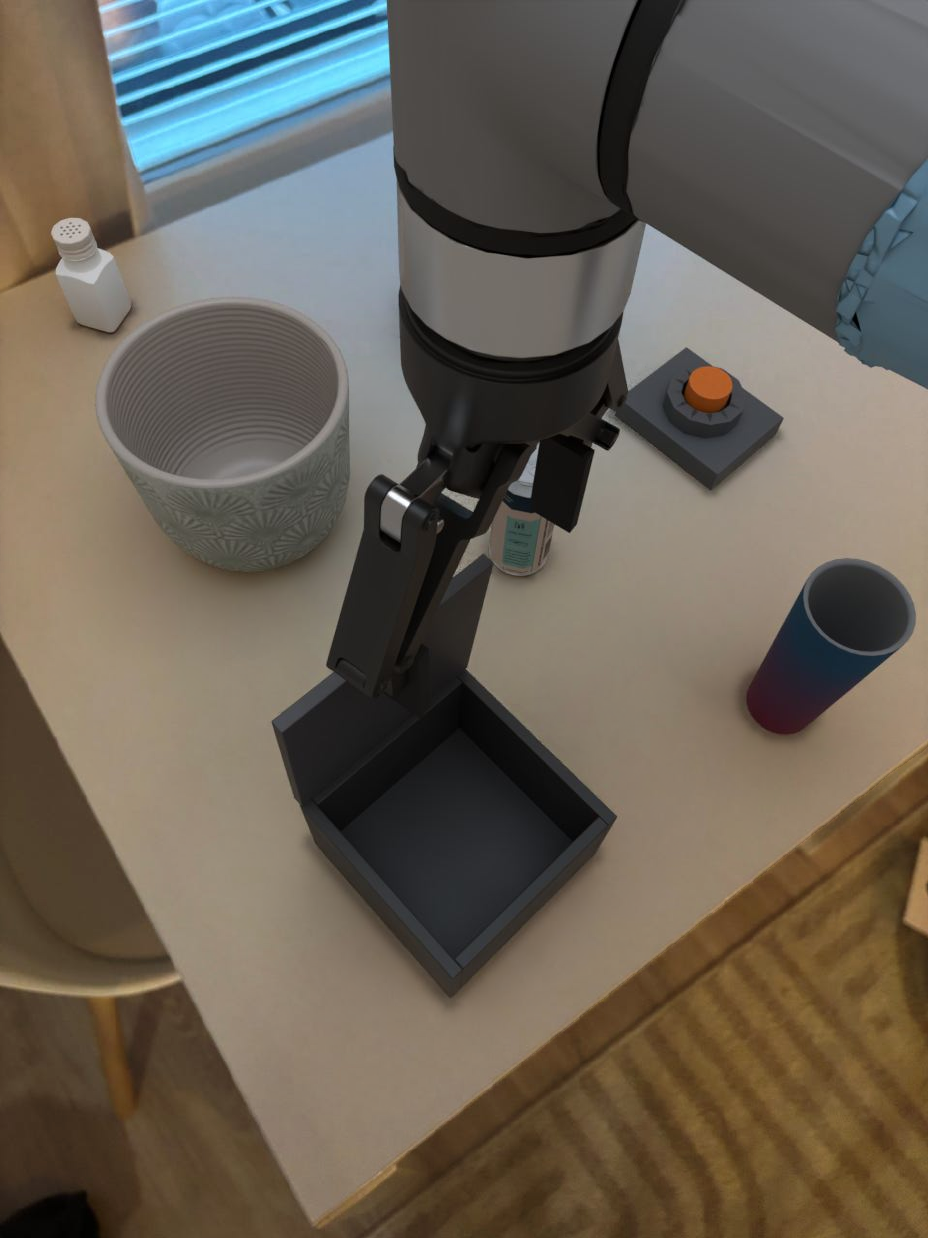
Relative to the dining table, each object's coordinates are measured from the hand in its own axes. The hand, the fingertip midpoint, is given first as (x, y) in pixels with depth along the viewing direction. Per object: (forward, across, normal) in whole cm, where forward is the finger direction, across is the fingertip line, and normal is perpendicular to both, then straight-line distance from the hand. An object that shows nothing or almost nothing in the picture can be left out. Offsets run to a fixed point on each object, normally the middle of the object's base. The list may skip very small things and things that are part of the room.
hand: (482, 602), depth 50 cm
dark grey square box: (+21, +7, +4) cm, 22 cm away
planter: (+21, -6, -26) cm, 34 cm away
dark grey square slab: (+5, +6, -2) cm, 7 cm away
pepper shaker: (+21, -14, -51) cm, 57 cm away
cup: (+21, -16, +17) cm, 32 cm away
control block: (+21, -36, -1) cm, 42 cm away
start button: (+17, -36, -1) cm, 40 cm away
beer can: (+21, -16, -6) cm, 27 cm away
